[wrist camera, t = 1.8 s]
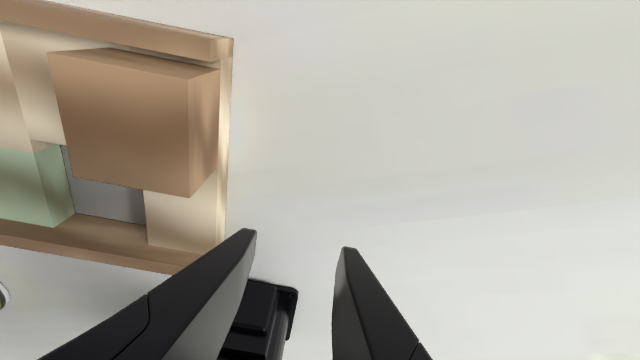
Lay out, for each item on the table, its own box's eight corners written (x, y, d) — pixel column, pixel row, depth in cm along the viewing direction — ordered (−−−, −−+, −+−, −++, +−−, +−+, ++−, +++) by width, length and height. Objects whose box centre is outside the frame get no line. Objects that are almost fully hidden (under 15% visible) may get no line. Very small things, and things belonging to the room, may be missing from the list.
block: (217, 167, 19) (189, 198, 16) (123, 149, 19) (73, 177, 15) (220, 69, 16) (187, 79, 13) (110, 47, 16) (46, 51, 13)
